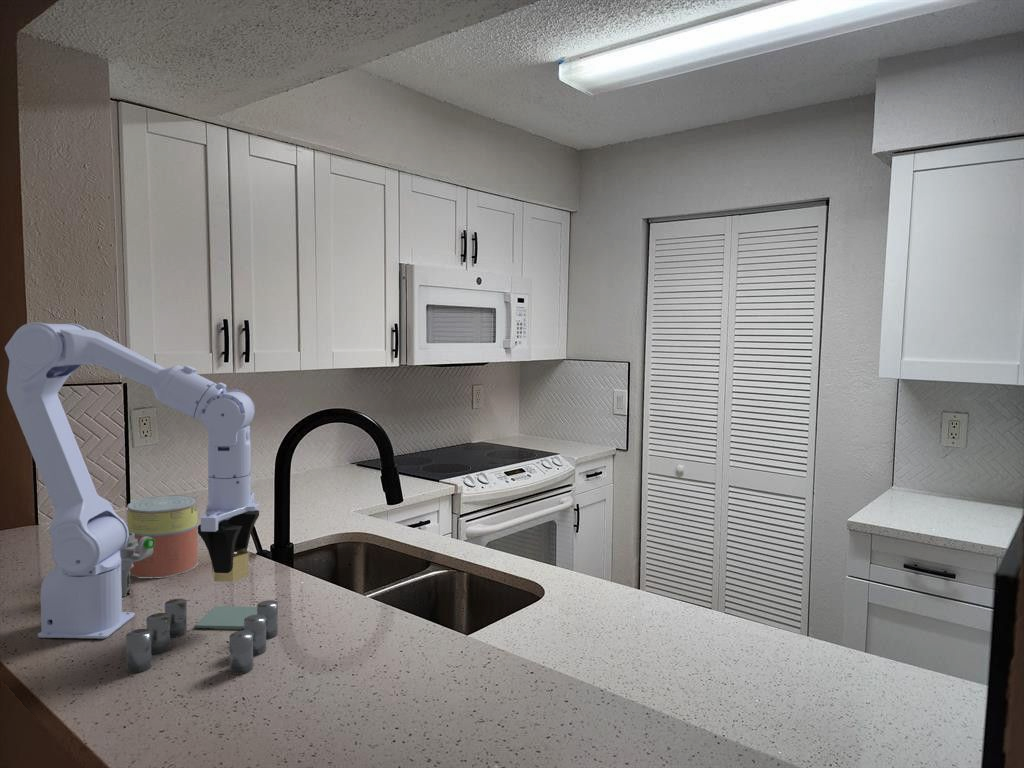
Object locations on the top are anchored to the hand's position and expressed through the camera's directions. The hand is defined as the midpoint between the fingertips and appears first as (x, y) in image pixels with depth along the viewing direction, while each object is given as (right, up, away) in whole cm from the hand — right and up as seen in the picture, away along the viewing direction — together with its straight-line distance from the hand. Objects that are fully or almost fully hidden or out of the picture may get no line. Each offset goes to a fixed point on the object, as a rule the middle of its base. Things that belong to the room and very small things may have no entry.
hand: (229, 565), depth 99 cm
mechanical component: (-21, -8, +11) cm, 25 cm away
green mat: (0, -9, +3) cm, 9 cm away
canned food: (-22, -7, +24) cm, 33 cm away
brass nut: (0, -2, 0) cm, 2 cm away
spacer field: (0, -10, -7) cm, 12 cm away
